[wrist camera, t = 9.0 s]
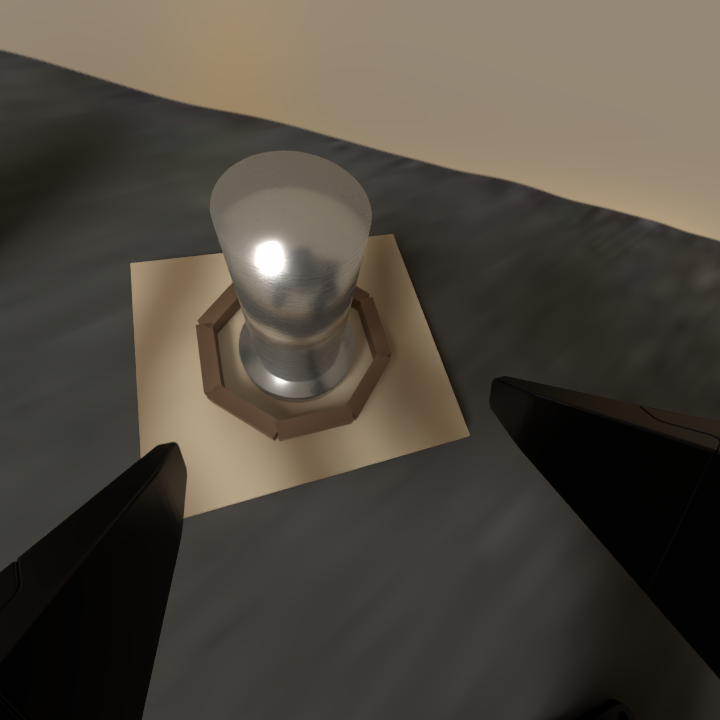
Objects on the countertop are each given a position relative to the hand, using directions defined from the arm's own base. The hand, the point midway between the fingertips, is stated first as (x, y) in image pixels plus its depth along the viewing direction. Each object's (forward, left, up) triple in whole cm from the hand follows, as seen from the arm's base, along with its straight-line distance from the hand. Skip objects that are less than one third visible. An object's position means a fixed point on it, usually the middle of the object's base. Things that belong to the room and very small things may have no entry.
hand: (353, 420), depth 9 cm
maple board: (0, -6, -9) cm, 11 cm away
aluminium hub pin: (0, -6, -8) cm, 10 cm away
